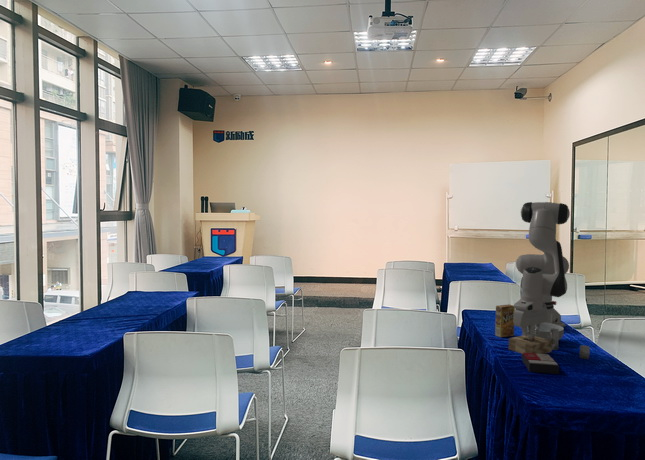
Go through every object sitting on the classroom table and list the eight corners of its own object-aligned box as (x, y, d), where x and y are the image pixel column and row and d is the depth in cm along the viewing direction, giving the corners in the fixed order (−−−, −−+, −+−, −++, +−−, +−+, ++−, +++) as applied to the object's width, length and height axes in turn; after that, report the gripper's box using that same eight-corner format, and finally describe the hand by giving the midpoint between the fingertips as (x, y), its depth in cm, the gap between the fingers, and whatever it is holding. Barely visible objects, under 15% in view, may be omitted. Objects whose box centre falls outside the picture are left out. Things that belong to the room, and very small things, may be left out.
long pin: (528, 348, 213) (530, 318, 212) (536, 351, 210) (537, 320, 209) (524, 350, 211) (525, 319, 210) (531, 352, 208) (532, 321, 207)
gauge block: (527, 344, 219) (527, 334, 219) (551, 351, 209) (551, 340, 208) (508, 349, 212) (508, 338, 211) (532, 357, 201) (532, 345, 201)
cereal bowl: (528, 333, 237) (529, 320, 237) (565, 339, 228) (565, 325, 228) (522, 342, 223) (523, 327, 223) (561, 348, 214) (562, 333, 214)
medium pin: (552, 347, 215) (553, 328, 215) (559, 349, 212) (560, 329, 212) (547, 348, 214) (548, 329, 213) (555, 350, 210) (555, 330, 210)
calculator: (549, 353, 196) (559, 363, 181) (548, 363, 196) (559, 374, 181) (521, 351, 198) (529, 361, 184) (521, 361, 198) (529, 372, 184)
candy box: (500, 337, 230) (501, 307, 229) (494, 335, 233) (495, 305, 232) (514, 335, 233) (515, 305, 232) (507, 333, 237) (509, 304, 236)
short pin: (582, 355, 204) (583, 344, 203) (590, 358, 200) (591, 347, 200) (577, 357, 202) (578, 346, 201) (586, 359, 199) (586, 348, 198)
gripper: (539, 300, 217) (538, 329, 218) (511, 304, 206) (510, 335, 207) (551, 302, 211) (550, 332, 212) (523, 307, 201) (522, 339, 202)
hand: (530, 334), depth 210 cm, fingers open, 7 cm apart
